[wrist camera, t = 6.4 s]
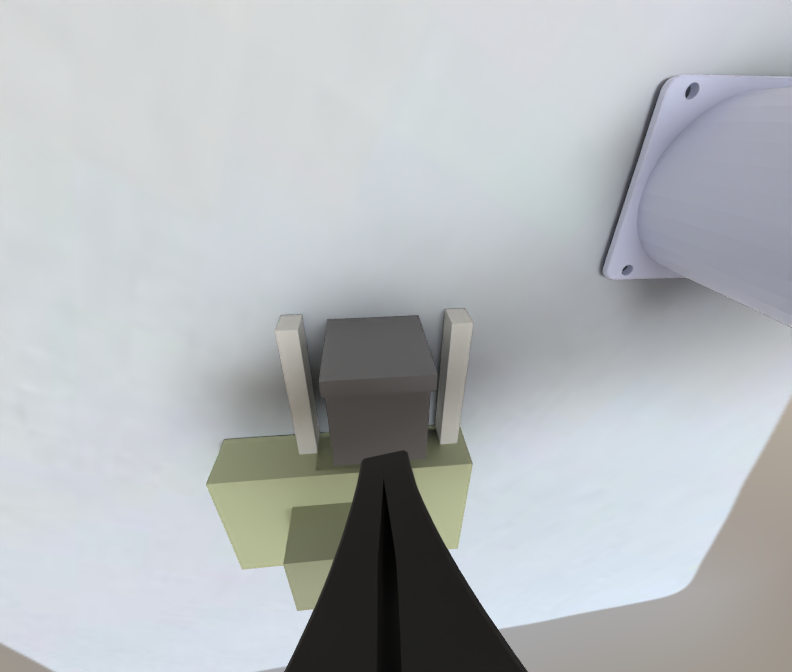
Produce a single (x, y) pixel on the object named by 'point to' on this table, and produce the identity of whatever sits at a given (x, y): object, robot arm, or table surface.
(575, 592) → the table surface
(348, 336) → the grey overhanging lid block
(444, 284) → the table surface
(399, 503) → the robot arm
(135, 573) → the table surface
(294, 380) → the green post base
